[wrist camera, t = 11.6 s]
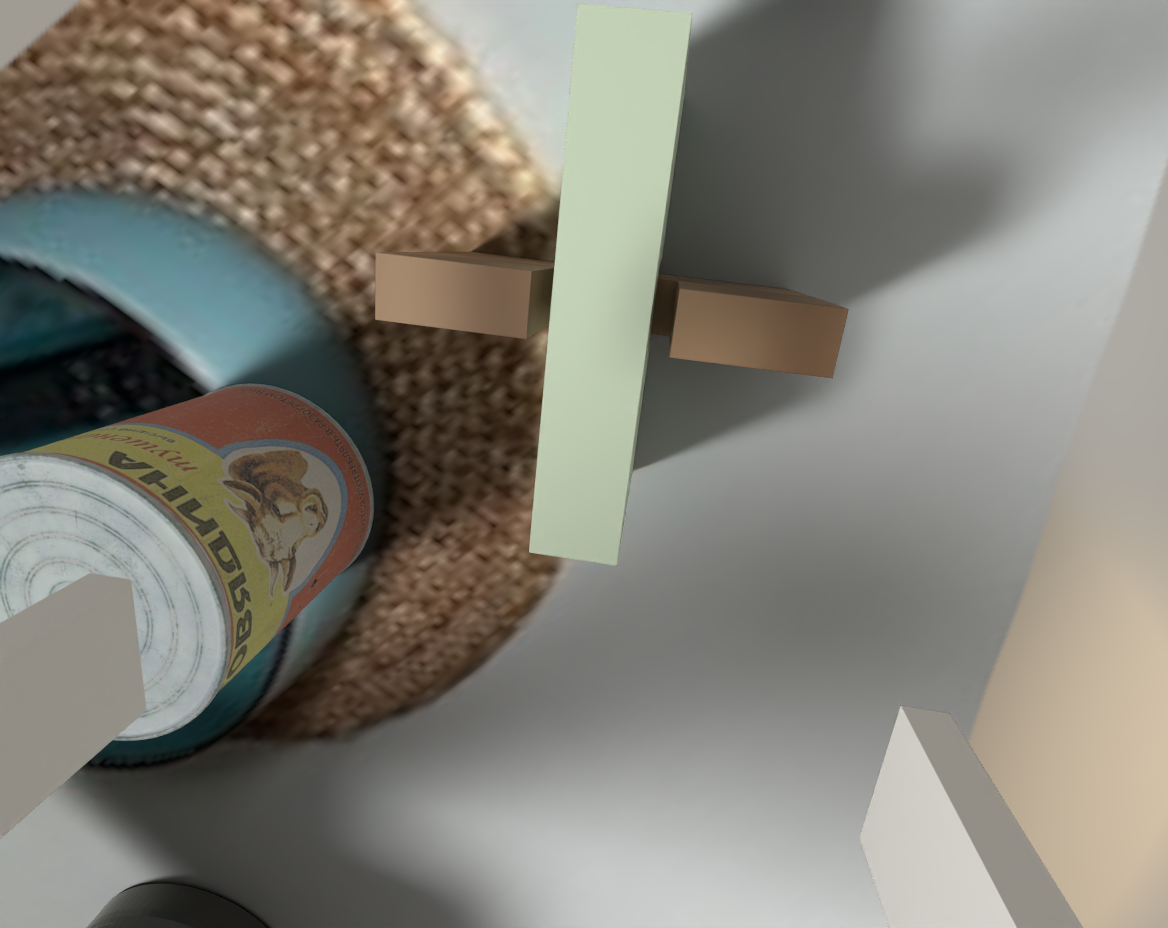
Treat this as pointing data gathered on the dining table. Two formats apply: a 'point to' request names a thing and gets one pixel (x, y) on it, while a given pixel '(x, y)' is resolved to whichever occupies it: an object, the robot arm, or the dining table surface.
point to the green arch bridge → (606, 272)
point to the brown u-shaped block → (681, 310)
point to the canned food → (190, 530)
